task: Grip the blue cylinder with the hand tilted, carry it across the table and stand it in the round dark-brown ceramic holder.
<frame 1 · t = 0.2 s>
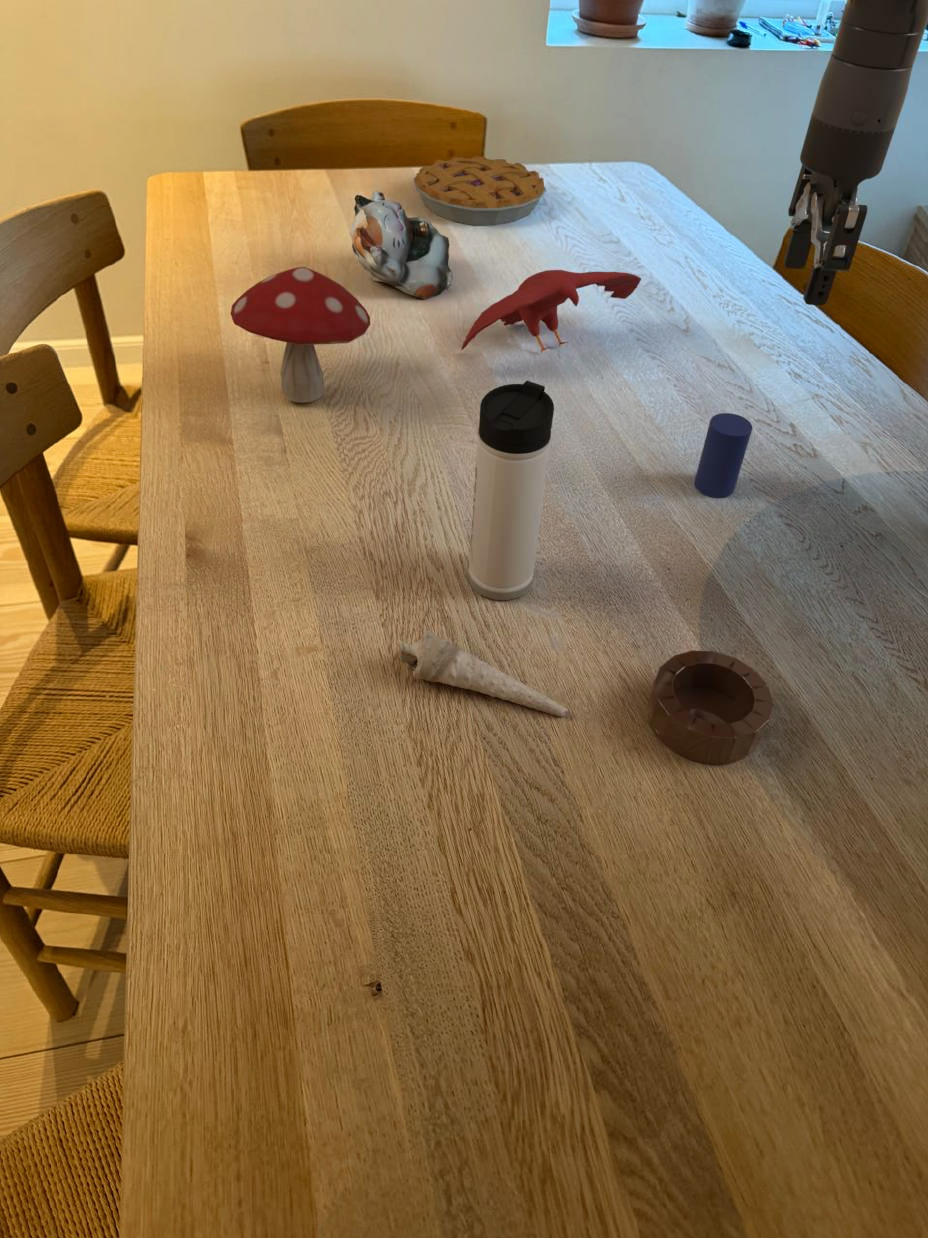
hand: (803, 284, 99), 20 cm above the table, tool pointing down, fingers open, 8 cm apart
seashell: (481, 686, 83), on the table
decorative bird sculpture: (538, 344, 128), on the table
pie: (478, 204, 162), on the table
holder: (704, 719, 81), on the table
decorative mushroom: (307, 392, 116), on the table
lucky cat figurine: (403, 284, 139), on the table
travel mug: (501, 580, 93), on the table
blue cylinder: (714, 486, 106), on the table
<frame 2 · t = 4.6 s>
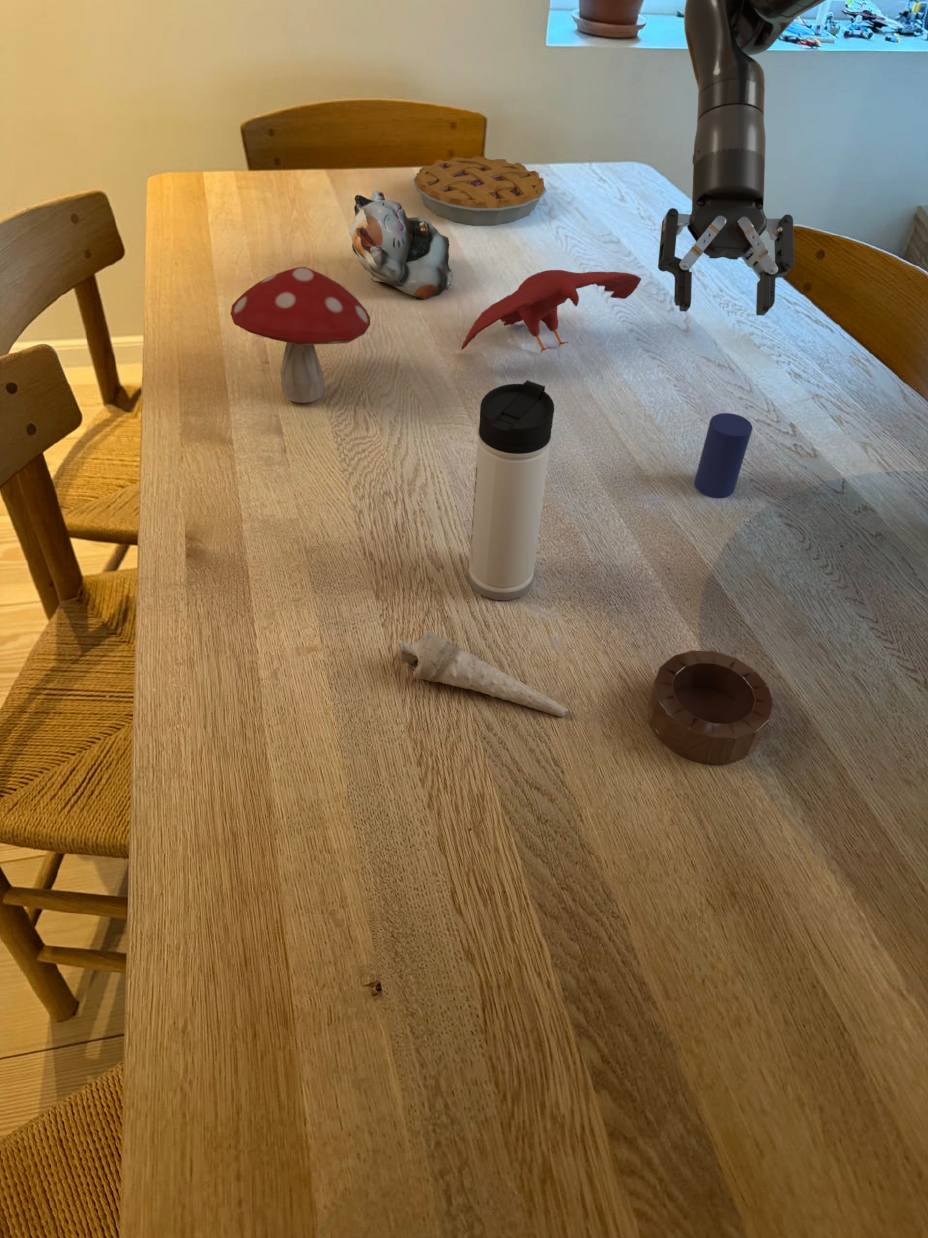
hand: (724, 311, 104), 15 cm above the table, tool tilted 45°, fingers open, 8 cm apart
nothing on the table moved.
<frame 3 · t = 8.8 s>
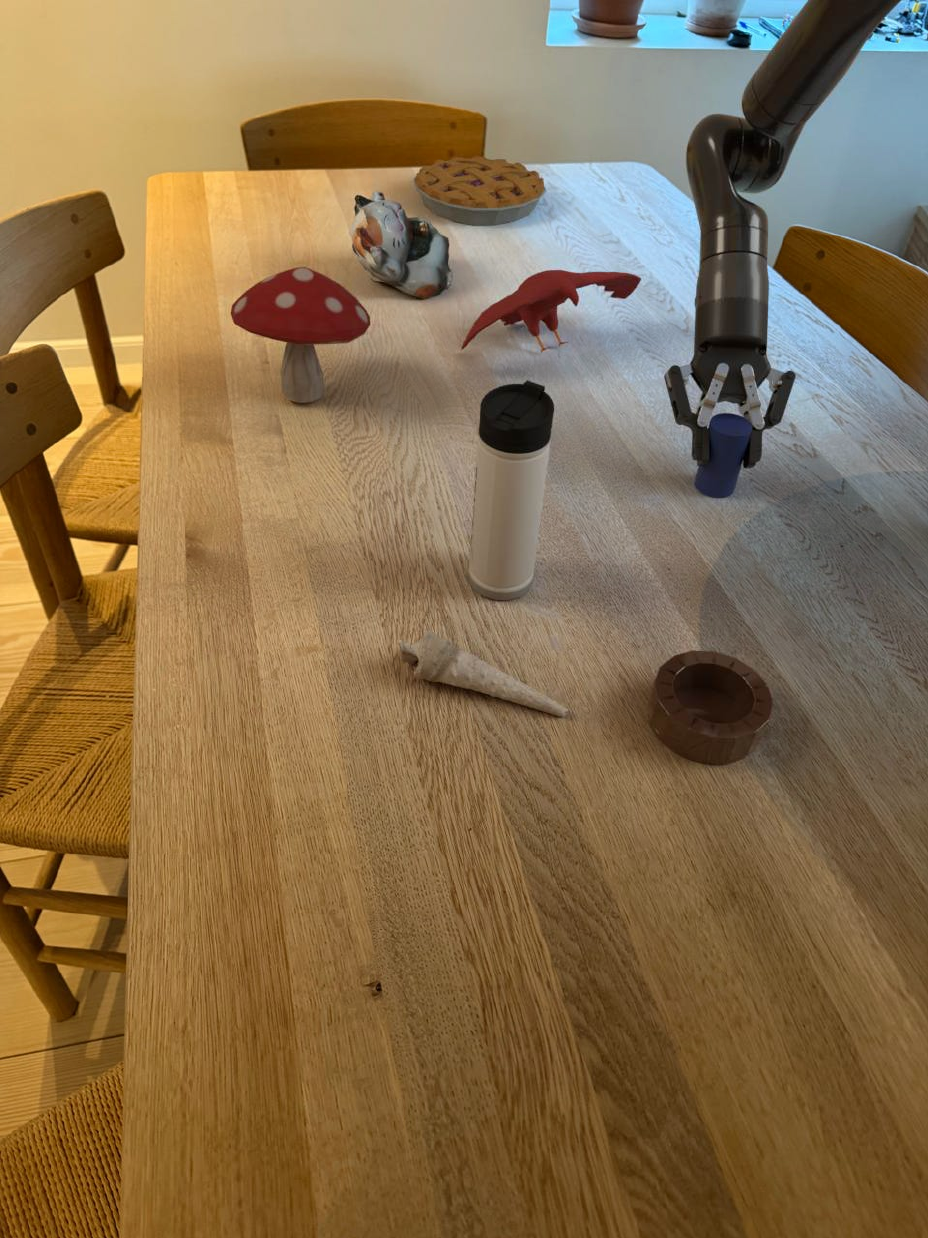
hand: (726, 465, 102), 4 cm above the table, tool tilted 45°, fingers closed on blue cylinder, 4 cm apart
blue cylinder: (714, 486, 106), on the table, touching gripper
everything else where it was.
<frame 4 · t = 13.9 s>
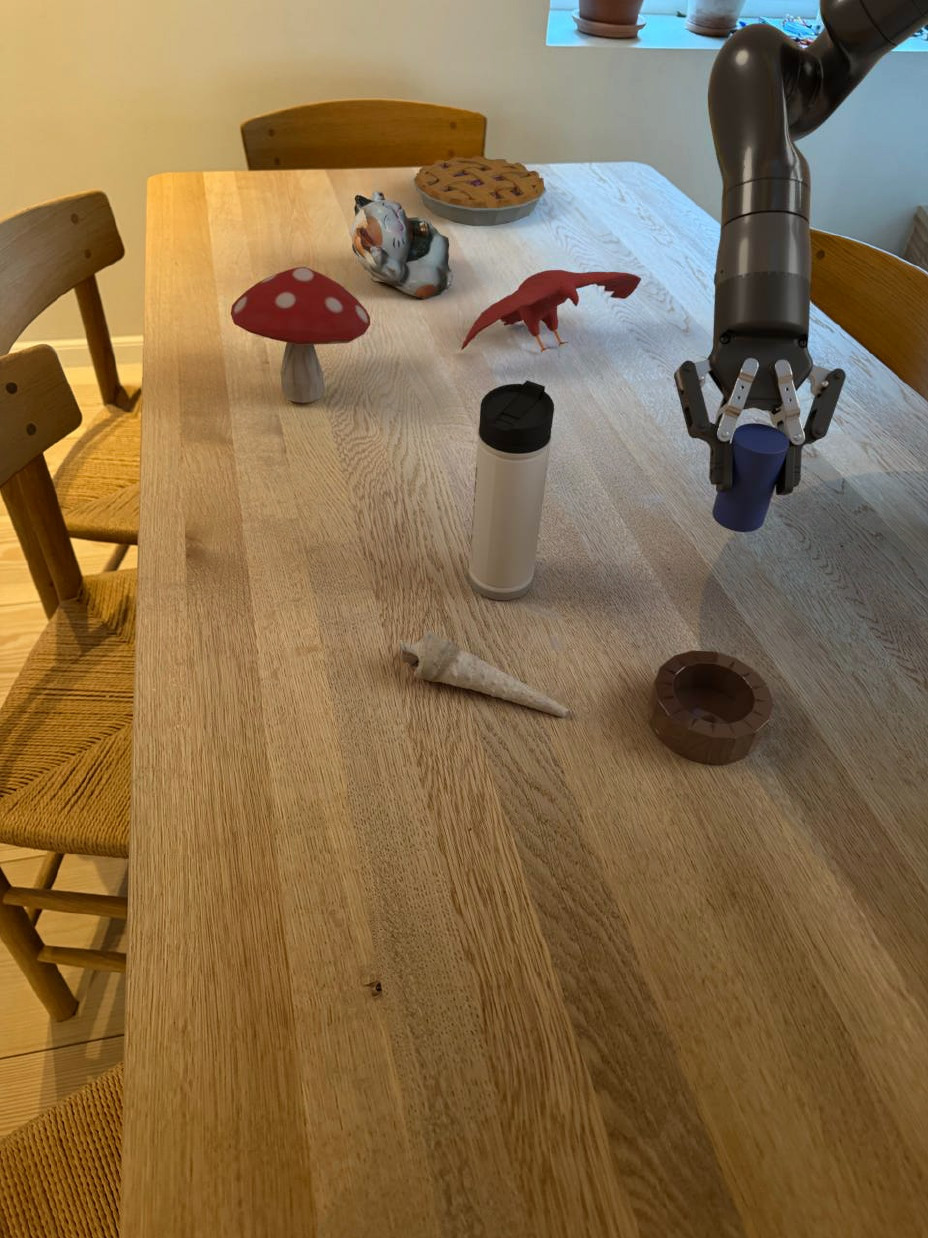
hand: (754, 491, 78), 16 cm above the table, tool tilted 45°, fingers closed on blue cylinder, 4 cm apart
blue cylinder: (737, 516, 82), point 12 cm above the table, touching gripper
everything else where it was.
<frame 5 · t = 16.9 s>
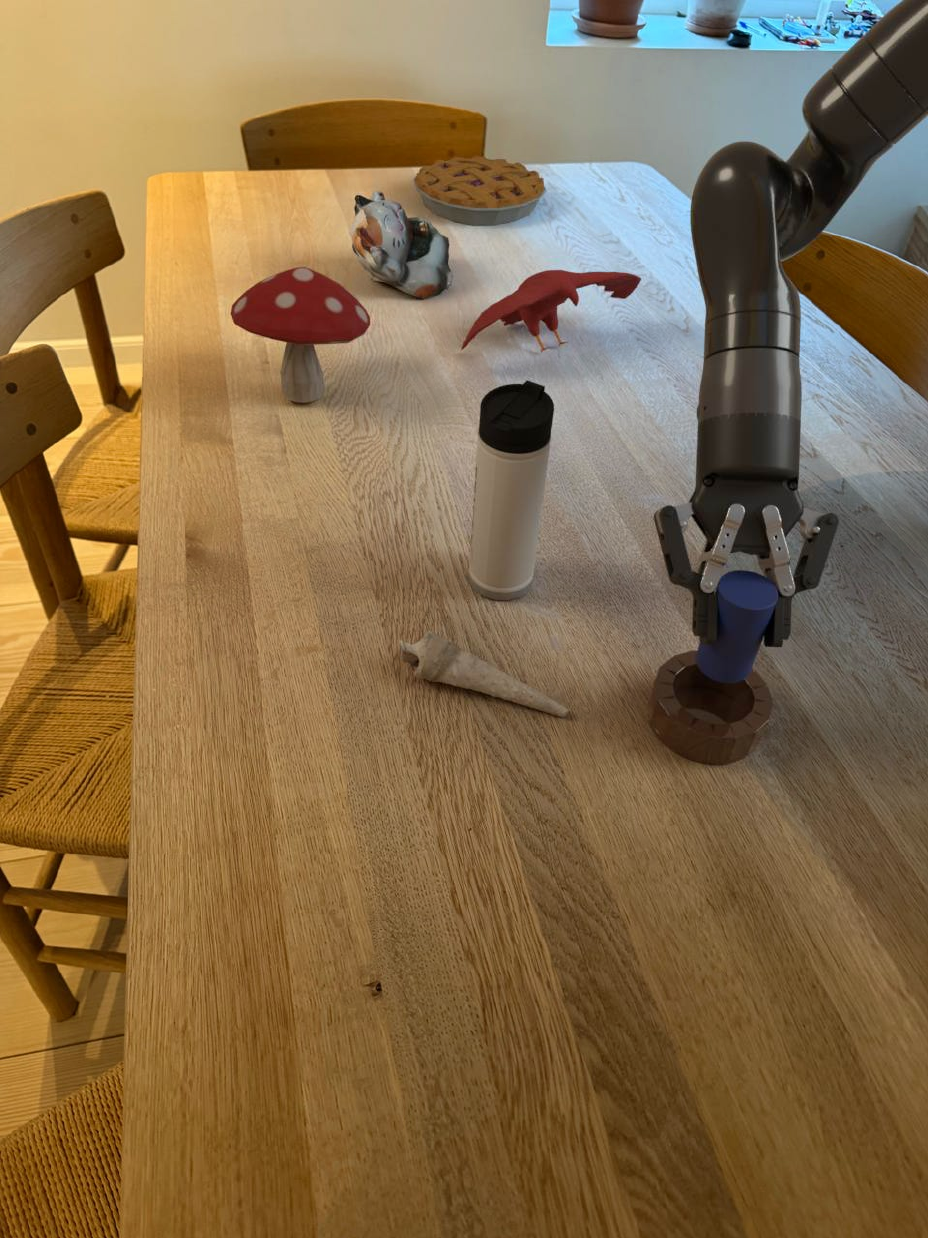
hand: (740, 644, 72), 11 cm above the table, tool tilted 45°, fingers closed on blue cylinder, 4 cm apart
blue cylinder: (723, 663, 76), point 7 cm above the table, touching gripper
everything else where it was.
when the fingers open (5 cm above the table, at t = 19.2 s): blue cylinder stays where it is, resting on holder.
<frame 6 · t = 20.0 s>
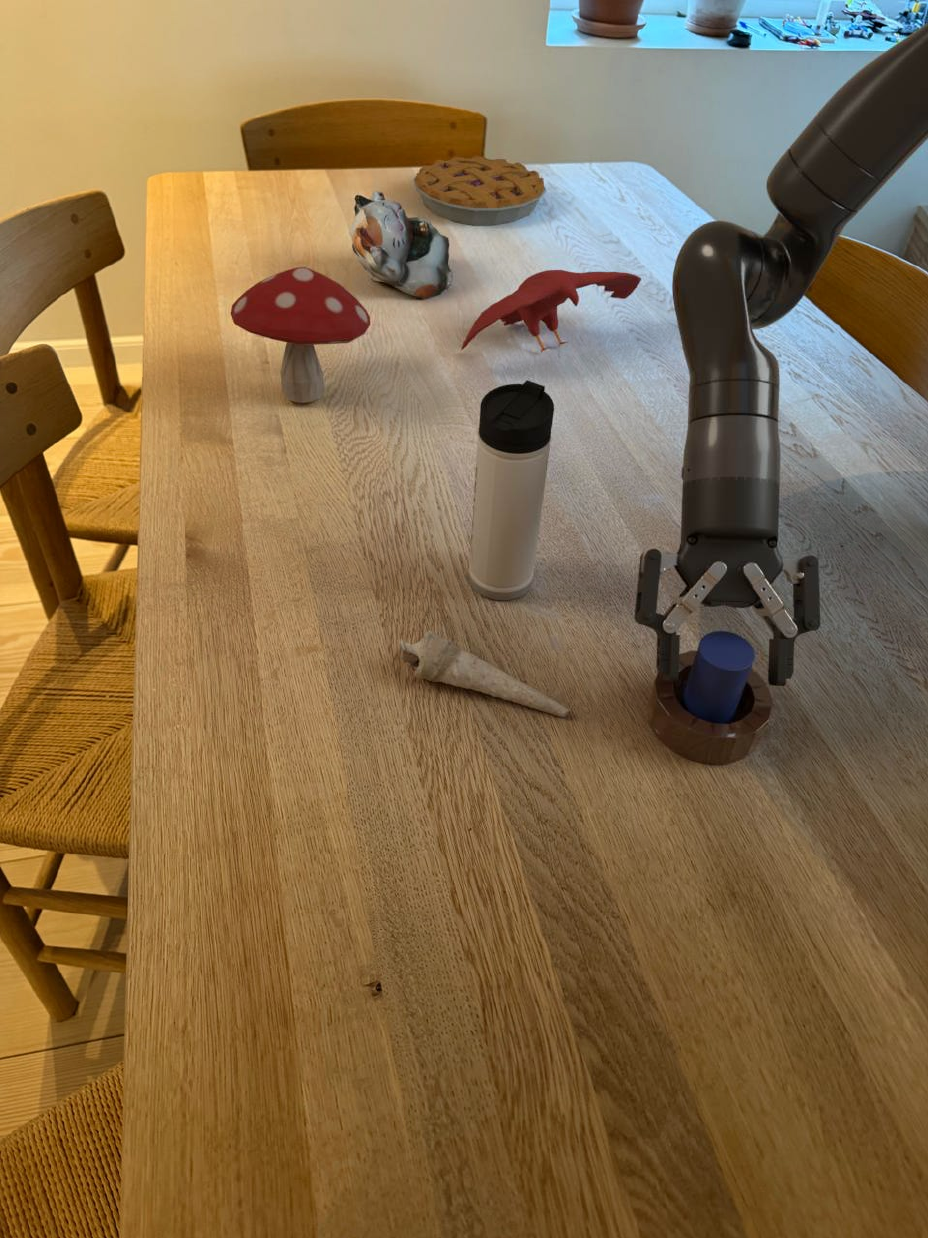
hand: (724, 683, 76), 6 cm above the table, tool tilted 45°, fingers open, 8 cm apart
blue cylinder: (704, 715, 81), resting on holder
everything else where it was.
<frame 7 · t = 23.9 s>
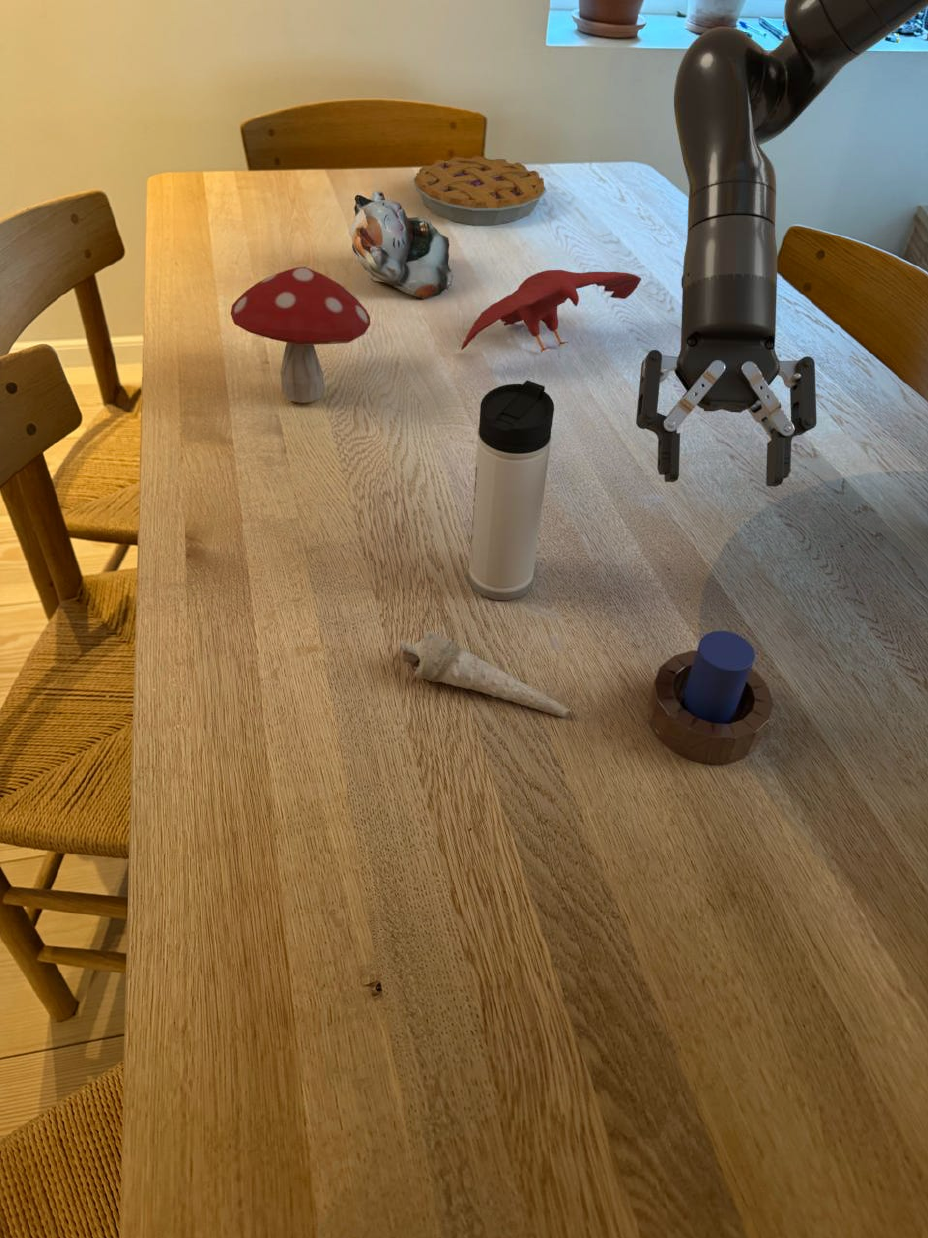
hand: (723, 482, 79), 16 cm above the table, tool tilted 45°, fingers open, 8 cm apart
nothing on the table moved.
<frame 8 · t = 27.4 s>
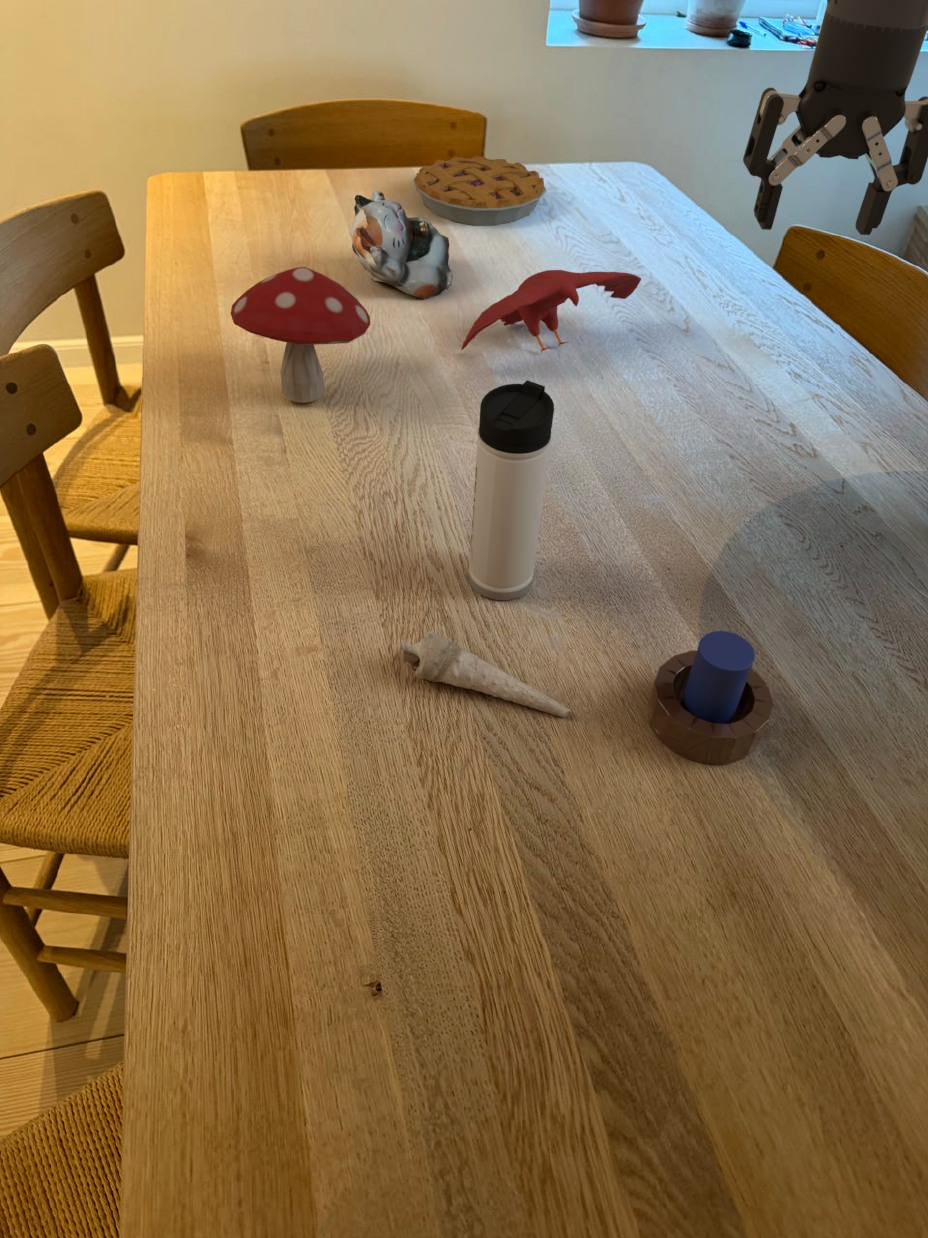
hand: (813, 228, 82), 30 cm above the table, tool pointing down, fingers open, 8 cm apart
nothing on the table moved.
at the end: blue cylinder 0.1 cm off-centre in the holder, point 0.5 cm above the holder's base; blue cylinder tilted 0°; the gripper is holding nothing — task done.
